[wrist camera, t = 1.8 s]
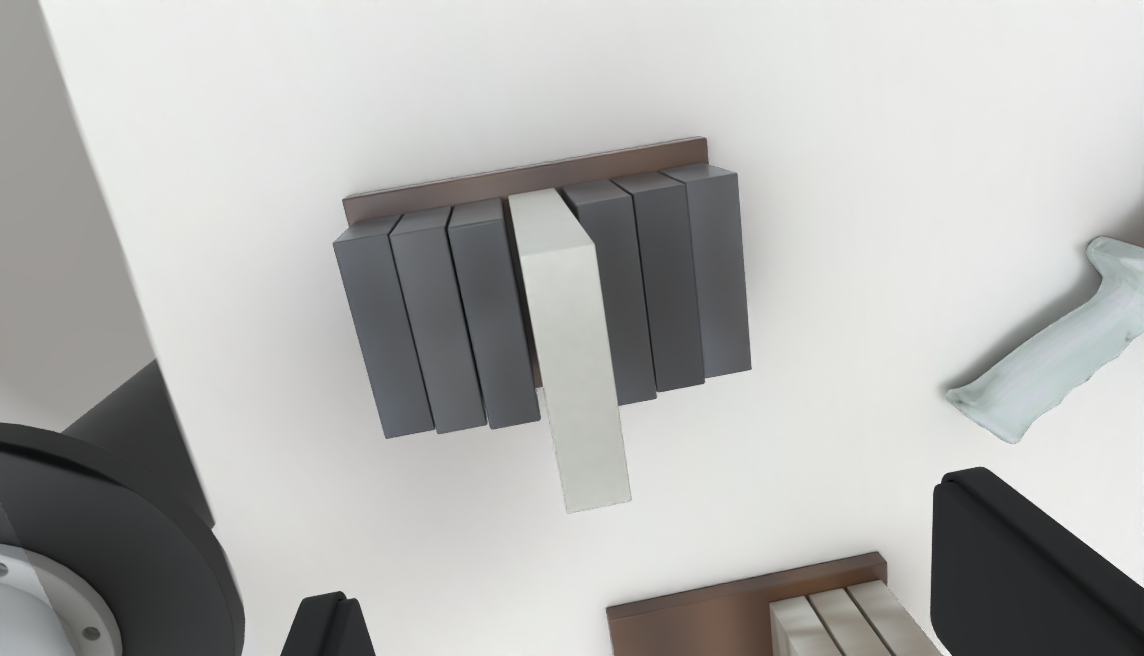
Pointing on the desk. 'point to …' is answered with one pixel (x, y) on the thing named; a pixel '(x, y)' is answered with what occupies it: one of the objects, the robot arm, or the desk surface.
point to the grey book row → (497, 293)
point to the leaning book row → (777, 617)
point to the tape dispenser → (1062, 348)
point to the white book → (571, 349)
